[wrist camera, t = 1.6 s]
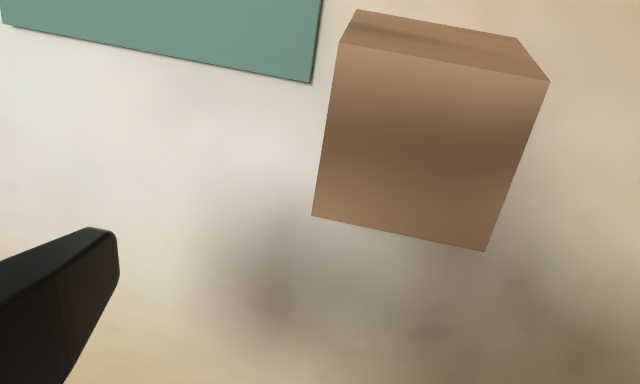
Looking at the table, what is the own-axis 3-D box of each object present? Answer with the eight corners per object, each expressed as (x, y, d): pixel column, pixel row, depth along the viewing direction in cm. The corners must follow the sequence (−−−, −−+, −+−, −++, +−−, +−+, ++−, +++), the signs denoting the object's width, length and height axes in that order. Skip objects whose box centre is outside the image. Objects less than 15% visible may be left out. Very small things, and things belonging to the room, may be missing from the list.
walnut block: (469, 177, 20) (484, 252, 16) (332, 150, 20) (311, 215, 16) (516, 37, 17) (550, 81, 13) (356, 8, 18) (339, 42, 13)
